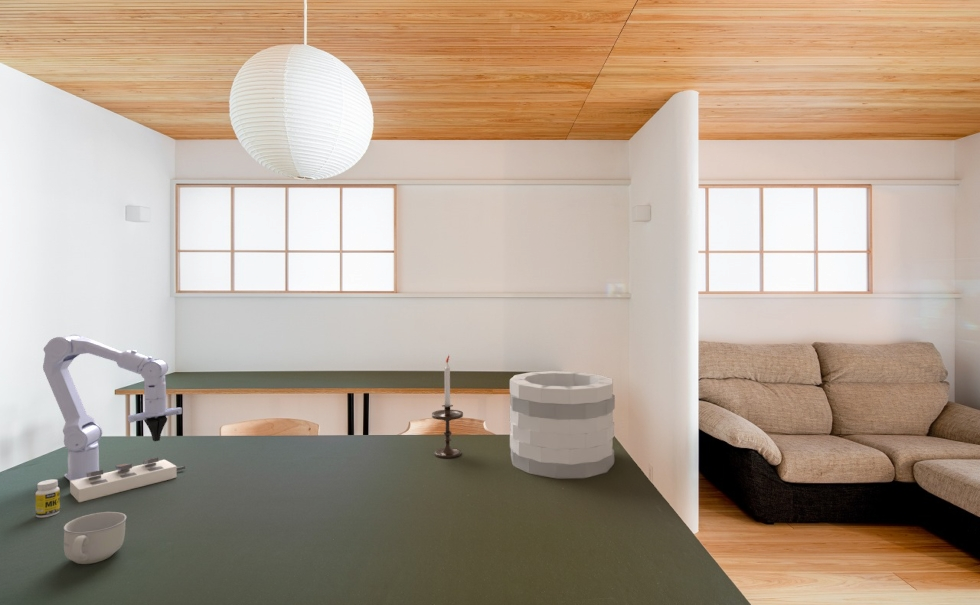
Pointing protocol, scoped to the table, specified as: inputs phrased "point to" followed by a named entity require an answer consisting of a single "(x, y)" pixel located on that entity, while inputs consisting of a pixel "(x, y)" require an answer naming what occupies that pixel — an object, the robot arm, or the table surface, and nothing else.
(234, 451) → the table surface
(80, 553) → the teacup
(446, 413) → the candlestick
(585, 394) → the storage basket
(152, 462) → the block
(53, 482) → the supplement bottle
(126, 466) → the block
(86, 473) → the rocker
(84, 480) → the power strip
